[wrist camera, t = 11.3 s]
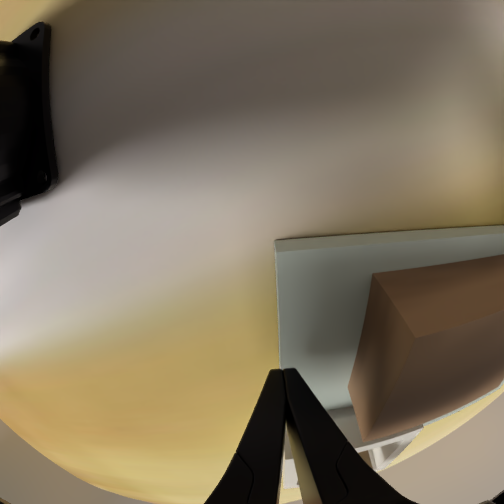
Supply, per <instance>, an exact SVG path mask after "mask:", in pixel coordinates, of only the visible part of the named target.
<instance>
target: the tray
mask: <svg viewBox="0 0 504 504" xmlns="http://www.w3.org/2000/svg"><path fill="white" fill-rule="evenodd" d="M327 412H328V414H329V415H330V417H331V418H332V419H333V421H334V422H335V423H336V425H337V426H338V427H339V429H340V430H341V431H342V433H343V434H344V435H345V437H346V438H347V440H348V441H349V442H350V443H351V445H352V446H353V447H354V449H355V450H356V451H357V452H362V451H366V450H368V452H369V455H370V459H371V463H372V467H373V470H374V471H375V472H376V471H380V470H383V469H385V468H386V467H387V466H388V465H389V464H390V463H391V462H392V461H393V460H394V459H395V458H396V457H397V456H398V455H399V454H400V453H401V452H402V451H403V450H404V449H405V448H406V447H407V446H408V445H409V444H410V443H411V441H412V440H413V439H414V438H415V437H416V436H417V435H418V434H419V432H420V431H421V430H422V429H423V428H424V426H423V424H421V425H418V426H416V427H413V428H410V429H407V430H404V431H401V432H398V433H395V434H392V435H389V436H385V437H382V438H378V439H375V440H371V441H367V442H363V441H362V437H361V433H360V429H359V426H358V422H357V418H356V415H355V411H354V408H353V406H351V407H346V408H341V409H335V410H329V411H327ZM348 441H347V442H348ZM282 472H283V486H284V489H288V488H297V487H299V482H298V478H297V473H296V469H295V464H294V460H293V455H292V451H291V446H290V442H289V437H288V432H287V427H286V429H285V444H284V456H283V467H282Z"/></svg>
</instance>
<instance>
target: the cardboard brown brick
mask: <svg viewBox="0 0 504 504" xmlns="http://www.w3.org/2000/svg"><path fill="white" fill-rule="evenodd" d="M503 380H504V254H502V255H496V256H490V257H484V258H478V259H472V260H466V261H459V262H453V263H446V264H439V265H432V266H425V267H418V268H410V269H403V270H395V271H387V272H379V273H372V279H371V285H370V291H369V297H368V303H367V308H366V313H365V318H364V323H363V328H362V332H361V337H360V341H359V345H358V350H357V354H356V358H355V362H354V365H353V369H352V373H351V376H350V380H349V383H348V391H349V394H350V397H351V401H352V404H353V408H354V411H355V415H356V418H357V422H358V426H359V429H360V433H361V437H362V441H363V442H367V441H371V440H375V439H378V438H382V437H385V436H389V435H392V434H395V433H398V432H401V431H404V430H407V429H410V428H413V427H416V426H418V425H421V424H424V423H426V422H429V421H431V420H434V419H436V418H438V417H441V416H443V415H445V414H448V413H450V412H452V411H454V410H456V409H458V408H460V407H462V406H464V405H466V404H468V403H470V402H472V401H474V400H476V399H478V398H480V397H481V396H483V395H485V394H487V393H489V392H490V391H492V390H494V389H495V388H497V387H498V386H499V385H500V384H501V382H502V381H503Z"/></svg>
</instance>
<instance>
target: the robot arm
mask: <svg viewBox="0 0 504 504" xmlns="http://www.w3.org/2000/svg"><path fill="white" fill-rule="evenodd" d="M37 35H38V36H37ZM50 36H51V26H50V25H49V24H48V23H44V22H38V23H36V24H35V25H33V26H32V27H30V28H29V29H28V30H26V31H25V32H24V33H22V34H21V35H20V36H18V37H17V38H16V39H14V40H13V41H12V42H8V41H0V226H1V225H3V224H5V223H6V222H8V221H10V220H11V219H13V218H15V217H16V216H18V215H19V212H20V210H21V205H20V200H23V199H26V198H29V197H32V196H35V195H38V194H41V193H44V192H46V191H48V190H50V189H52V188H54V187H55V186H56V184H57V182H58V178H59V177H58V168H57V162H56V156H55V150H54V142H53V135H52V126H51V115H50V100H49V50H50ZM44 172H45V173H46V176H47V180H45V178H44ZM286 427H287V432H288V437H289V442H290V446H291V451H292V455H293V460H294V464H295V469H296V473H297V478H298V482H299V487H300V491H301V496H302V500H303V504H418V503H416V502H413V501H411V500H409V499H407V498H405V497H404V496H402V495H401V494H400V493H398V492H397V491H396V490H395V489H394V488H393V487H391V486H390V485H389V484H388V483H387V482H386V481H385V480H384V479H383V478H382V477H380V476H379V475H378V474H377V473H376V472H375V471H374V470H373V469H372V468H371V467H370V466H369V465H368V464H367V463H366V462H365V461H364V460H363V458H362V457H361V456H360V455H359V454H358V452H357V451H356V450H355V449H354V447H353V446H352V445H351V443H350V442H349V441H348V440H347V438H346V437H345V435H344V434H343V433H342V431H341V430H340V429H339V427H338V426H337V425H336V423H335V422H334V421H333V419H332V418H331V417H330V415H329V414H328V412H327V411H326V410H325V408H324V407H323V406H322V404H321V403H320V401H319V400H318V399H317V397H316V396H315V394H314V393H313V392H312V390H311V389H310V387H309V386H308V385H307V383H306V382H305V380H304V379H303V378H302V376H301V375H300V373H299V372H298V370H297V369H296V368H294V367H292V368H284V369H283V370H282V369H271V370H270V371H269V374H268V376H267V379H266V381H265V384H264V386H263V389H262V391H261V394H260V396H259V399H258V401H257V404H256V406H255V408H254V411H253V413H252V416H251V418H250V420H249V423H248V425H247V427H246V429H245V432H244V434H243V436H242V439H241V441H240V443H239V445H238V447H237V450H236V453H235V454H234V456H233V458H232V460H231V462H230V464H229V466H228V468H227V470H226V472H225V474H224V475H223V477H222V479H221V480H220V482H219V483H218V485H217V486H216V488H215V489H214V491H213V492H212V493H211V495H210V496H209V497H208V499H207V500H206V502H205V503H204V504H279V496H280V487H281V477H282V467H283V456H284V444H285V429H286ZM347 441H348V442H347ZM0 504H11V503H9V502H7V501H5V500H3V499H2V498H0ZM479 504H504V490H503V491H502V492H500V493H499V494H498V495H497V496H496V497H494V498H493V499H491V500H490V501H488V500H487V501H484V502H482V503H479Z"/></svg>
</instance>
